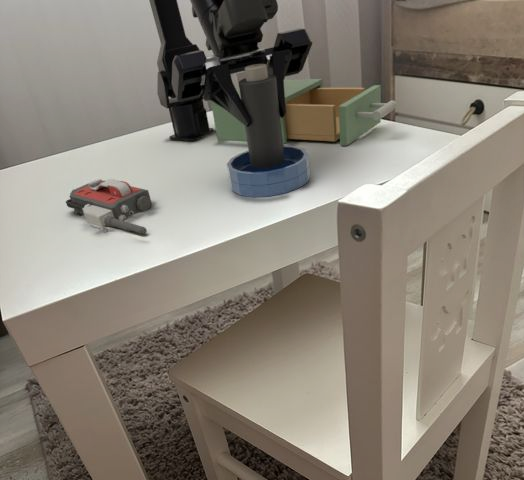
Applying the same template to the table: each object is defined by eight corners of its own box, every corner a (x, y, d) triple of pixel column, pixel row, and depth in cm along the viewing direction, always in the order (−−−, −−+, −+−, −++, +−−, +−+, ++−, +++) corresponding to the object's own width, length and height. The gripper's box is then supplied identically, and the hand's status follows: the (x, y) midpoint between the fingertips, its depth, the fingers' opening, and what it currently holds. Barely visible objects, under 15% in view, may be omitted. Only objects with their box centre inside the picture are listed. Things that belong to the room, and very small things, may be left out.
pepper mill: (243, 166, 73) (229, 71, 66) (263, 154, 76) (251, 62, 69) (272, 169, 71) (260, 70, 63) (291, 157, 74) (281, 61, 66)
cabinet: (325, 124, 97) (322, 78, 92) (285, 148, 88) (280, 100, 84) (260, 121, 104) (254, 79, 100) (218, 143, 96) (210, 99, 91)
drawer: (404, 123, 88) (405, 85, 84) (371, 147, 80) (371, 106, 77) (312, 119, 97) (309, 85, 93) (275, 141, 89) (271, 104, 86)
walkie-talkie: (56, 217, 77) (141, 245, 66) (45, 188, 74) (131, 211, 63) (105, 195, 82) (191, 217, 70) (96, 167, 79) (184, 185, 68)
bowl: (216, 197, 75) (211, 169, 73) (261, 169, 82) (257, 143, 79) (282, 206, 69) (278, 176, 67) (324, 175, 76) (322, 147, 74)
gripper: (154, -23, 60) (205, 96, 59) (299, -48, 65) (349, 60, 63) (154, 49, 71) (197, 151, 69) (278, 23, 76) (321, 117, 74)
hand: (266, 120), depth 69 cm, fingers closed on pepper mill, 5 cm apart
